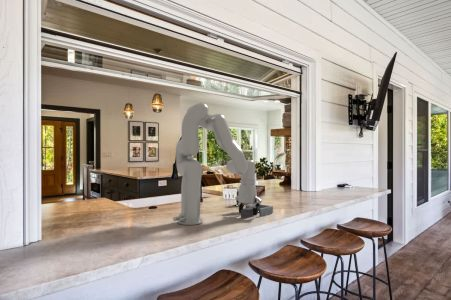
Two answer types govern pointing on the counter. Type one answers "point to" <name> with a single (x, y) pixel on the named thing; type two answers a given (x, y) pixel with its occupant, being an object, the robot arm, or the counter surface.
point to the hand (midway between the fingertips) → (247, 213)
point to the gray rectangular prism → (247, 213)
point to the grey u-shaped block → (263, 209)
